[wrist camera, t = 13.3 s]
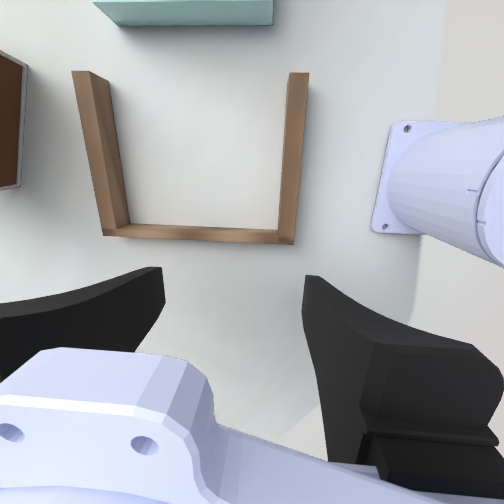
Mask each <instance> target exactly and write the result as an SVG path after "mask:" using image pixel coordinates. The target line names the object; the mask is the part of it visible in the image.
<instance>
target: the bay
mask: <svg viewBox="0 0 504 504" xmlns="http://www.w3.org/2000/svg"><path fill="white" fill-rule="evenodd" d="M71 72H72V77H73V82H74V87H75V93H76V98H77V103H78V108H79V113H80V118H81V124H82V129H83V134H84V139H85V144H86V150H87V155H88V160H89V165H90V170H91V175H92V181H93V186H94V191H95V196H96V201H97V206H98V212H99V217H100V222H101V227H102V232H103V236H120V237H141V238H162V239H183V240H204V241H225V242H246V243H268V244H289V245H294V234H295V223H296V212H297V201H298V191H299V180H300V169H301V158H302V147H303V136H304V125H305V114H306V103H307V92H308V82H309V73H290V74H289V78H288V83H287V98H286V113H285V128H284V143H283V158H282V173H281V189H280V204H279V219H278V230H265V229H243V228H220V227H197V226H175V225H152V224H130V222H129V215H128V208H127V202H126V195H125V188H124V182H123V175H122V168H121V162H120V155H119V149H118V142H117V135H116V129H115V122H114V115H113V109H112V102H111V95H110V89H109V82H108V81H107V80H105V79H103V78H101V77H99V76H98V75H96V74H94V73H92V72H90V71H71Z"/></svg>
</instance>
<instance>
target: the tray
mask: <svg viewBox="0 0 504 504" xmlns="http://www.w3.org/2000/svg"><path fill="white" fill-rule="evenodd" d="M92 3H94V4H95V5H96V6H97V7H98V8H99V9H100V10H101V11H102V12H103V13H104V14H106V15H107V16H108V17H109V18H110V19H111V20H112V21H113V22H114V23H115V24H116V25H117V26H169V25H272V18H273V0H92Z"/></svg>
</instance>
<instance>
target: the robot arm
mask: <svg viewBox="0 0 504 504" xmlns="http://www.w3.org/2000/svg"><path fill="white" fill-rule="evenodd" d="M405 126H408V128H409V130H408V132H407V133H405V132H404V127H405ZM384 224H387V227H386V228H385V229H382V226H383V225H384ZM371 229H372V230H373V231H374V232H377V233H399V234H422V235H430V236H432V237H434V238H437V239H439V240H441V241H444V242H446V243H448V244H450V245H453V246H455V247H457V248H460V249H462V250H464V251H466V252H468V253H471V254H473V255H476V256H478V257H480V258H482V259H484V260H487V261H489V262H491V263H494V264H496V265H498V266H500V267H503V268H504V116H503V117H498V118H493V119H488V120H484V121H479V122H436V121H398V122H396V123H394V124H393V125H392V127H391V129H390V134H389V139H388V144H387V149H386V154H385V159H384V164H383V169H382V174H381V179H380V184H379V189H378V193H377V198H376V203H375V208H374V213H373V218H372V223H371ZM165 303H166V301H165V292H164V283H163V274H162V267H145V268H142V269H138V270H135V271H132V272H130V273H127V274H124V275H121V276H118V277H115V278H113V279H110V280H106V281H103V282H100V283H97V284H94V285H91V286H88V287H84V288H81V289H77V290H73V291H69V292H65V293H61V294H56V295H51V296H45V297H40V298H35V299H29V300H23V301H16V302H9V303H1V304H0V504H504V458H503V457H502V455H501V454H500V453H499V452H498V450H497V449H496V448H495V447H494V446H498V444H499V440H498V438H497V437H496V435H495V434H494V433H493V432H492V431H491V429H490V428H489V427H488V426H487V425H488V423H489V421H490V419H491V417H492V416H493V414H494V412H495V410H496V408H497V406H498V404H499V402H500V401H501V397H502V395H503V391H504V378H503V376H502V374H501V372H500V370H499V368H498V367H497V366H495V365H494V364H493V363H492V362H491V361H490V360H489V359H488V358H487V357H485V356H484V355H483V354H482V353H481V352H480V351H479V350H478V349H477V348H476V347H474V346H473V345H472V344H469V343H465V342H461V341H457V340H453V339H450V338H446V337H442V336H438V335H434V334H431V333H428V332H425V331H422V330H418V329H415V328H412V327H410V326H407V325H404V324H402V323H399V322H397V321H394V320H392V319H390V318H387V317H385V316H383V315H380V314H378V313H376V312H374V311H372V310H370V309H368V308H367V307H365V306H363V305H361V304H359V303H358V302H356V301H354V300H353V299H351V298H350V297H348V296H347V295H345V294H344V293H342V292H341V291H339V290H338V289H336V288H335V287H334V286H332V285H331V284H330V283H328V282H327V281H326V280H324V279H323V278H321V277H320V276H313V275H306V276H305V285H304V293H303V302H302V320H303V328H304V332H305V336H306V339H307V343H308V347H309V351H310V354H311V358H312V362H313V365H314V369H315V374H316V378H317V384H318V391H319V397H320V403H321V410H322V417H323V424H324V432H325V440H326V447H327V455H328V461H325V460H322V459H319V458H316V457H313V456H310V455H307V454H304V453H301V452H299V451H295V450H293V449H290V448H287V447H284V446H281V445H278V444H275V443H272V442H269V441H267V440H264V439H261V438H258V437H255V436H252V435H249V434H246V433H243V432H240V431H237V430H235V429H232V428H229V427H226V426H223V425H220V424H217V423H216V421H215V416H214V401H213V393H212V390H211V388H210V385H209V383H208V380H207V377H206V376H205V375H204V374H202V373H201V372H200V371H199V370H197V369H196V368H195V367H194V366H193V365H191V364H190V363H189V362H188V361H185V360H181V359H178V358H174V357H171V356H167V355H157V354H144V353H134V352H135V350H136V349H137V347H138V346H139V345H140V343H141V342H142V340H143V339H144V338H145V336H146V335H147V333H148V332H149V331H150V329H151V328H152V326H153V325H154V323H155V322H156V320H157V319H158V317H159V315H160V313H161V311H162V309H163V307H164V305H165Z"/></svg>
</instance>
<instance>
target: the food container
mask: <svg viewBox="0 0 504 504" xmlns="http://www.w3.org/2000/svg"><path fill="white" fill-rule="evenodd" d="M27 72H28V65H27V64H25V63H23V62H21V61H19V60H17V59H16V58H14V57H12V56H10V55H8V54H6V53H4V52H3V51H1V50H0V190H5V189H11V188H16V187H21V172H22V155H23V139H24V122H25V105H26V88H27Z"/></svg>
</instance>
